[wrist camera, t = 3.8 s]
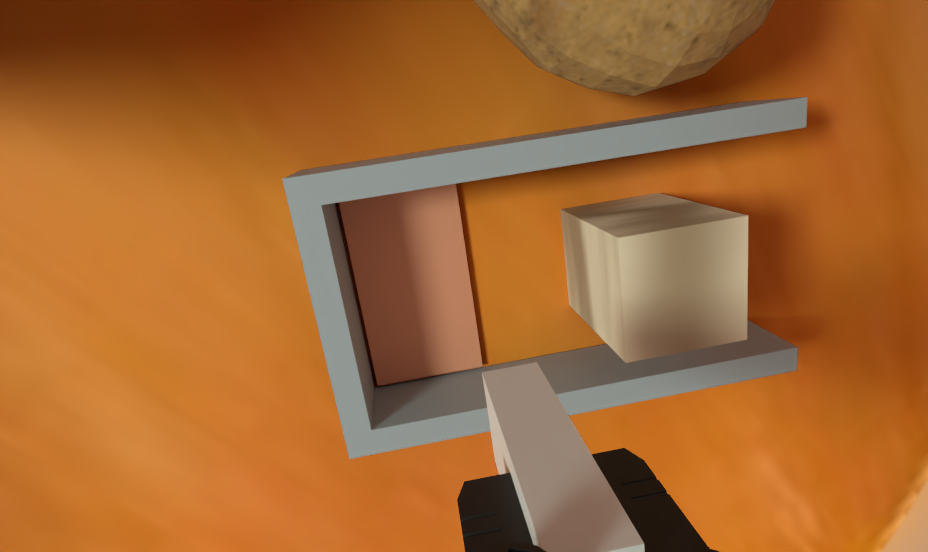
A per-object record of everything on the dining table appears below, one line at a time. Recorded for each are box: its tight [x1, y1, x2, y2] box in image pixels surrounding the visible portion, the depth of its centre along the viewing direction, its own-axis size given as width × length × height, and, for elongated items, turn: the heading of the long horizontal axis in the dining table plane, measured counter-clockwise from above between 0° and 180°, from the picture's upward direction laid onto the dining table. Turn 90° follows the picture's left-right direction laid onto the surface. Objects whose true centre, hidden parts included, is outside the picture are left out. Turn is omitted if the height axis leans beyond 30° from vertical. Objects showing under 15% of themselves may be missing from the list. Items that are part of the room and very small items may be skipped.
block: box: [561, 193, 748, 363], centre depth 23 cm, size 5×5×7 cm
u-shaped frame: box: [282, 97, 808, 459], centre depth 25 cm, size 21×12×4 cm, turn 98°
